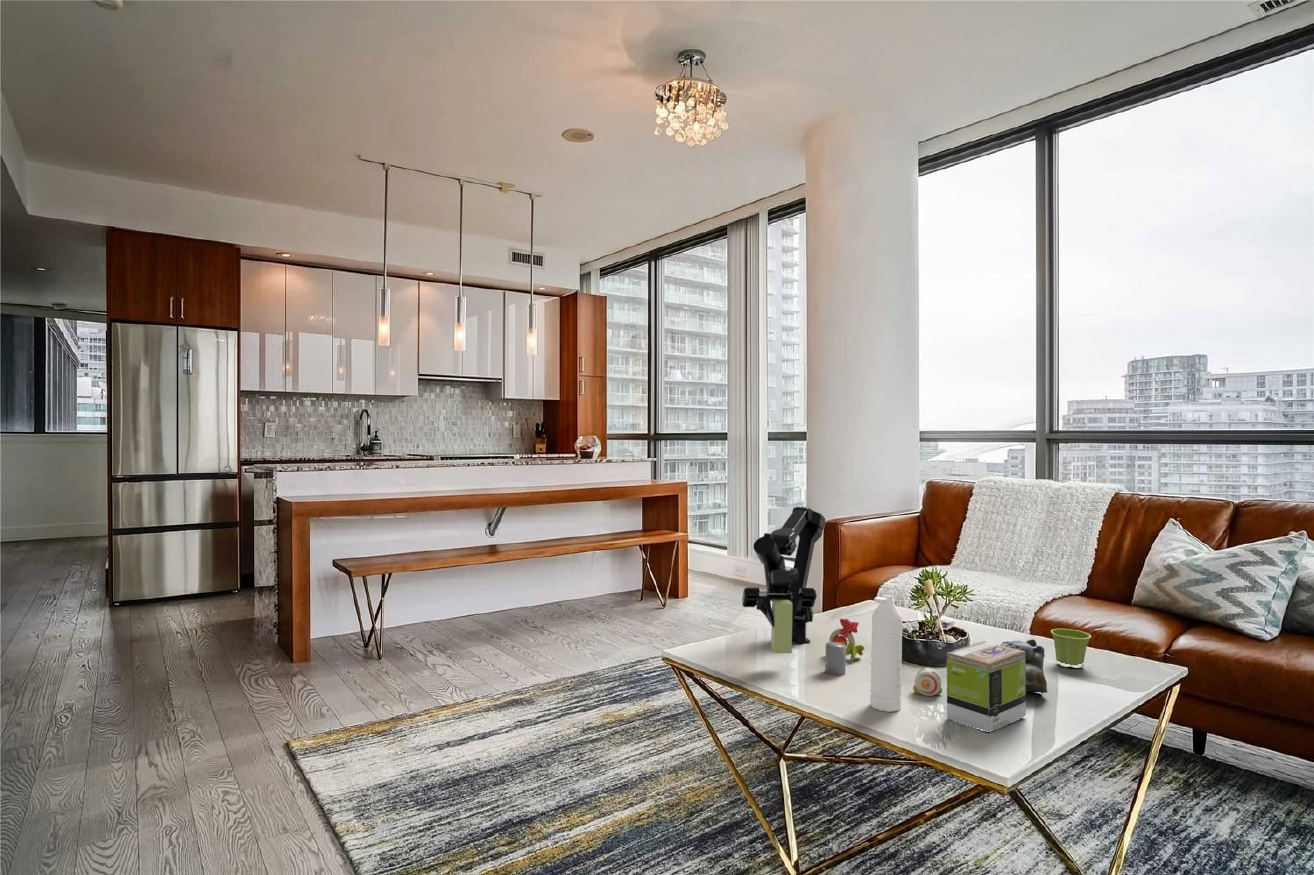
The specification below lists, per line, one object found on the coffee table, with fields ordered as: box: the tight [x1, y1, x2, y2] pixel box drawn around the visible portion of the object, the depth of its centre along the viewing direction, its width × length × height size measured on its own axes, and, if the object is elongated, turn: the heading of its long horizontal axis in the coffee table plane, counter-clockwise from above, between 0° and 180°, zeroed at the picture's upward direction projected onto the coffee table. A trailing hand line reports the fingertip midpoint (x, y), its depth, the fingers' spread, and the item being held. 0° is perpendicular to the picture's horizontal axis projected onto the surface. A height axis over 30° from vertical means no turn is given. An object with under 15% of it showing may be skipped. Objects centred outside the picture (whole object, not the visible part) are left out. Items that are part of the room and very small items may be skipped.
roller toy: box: [912, 667, 943, 697], centre depth 176 cm, size 4×6×6 cm
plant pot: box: [1050, 628, 1092, 665], centre depth 199 cm, size 9×9×9 cm
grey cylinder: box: [824, 642, 847, 677], centre depth 191 cm, size 5×5×7 cm
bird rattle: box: [828, 618, 865, 662], centre depth 203 cm, size 6×11×9 cm
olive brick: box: [770, 600, 793, 654], centre depth 192 cm, size 4×4×12 cm
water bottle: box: [869, 594, 904, 713], centre depth 166 cm, size 9×6×25 cm
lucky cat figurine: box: [999, 638, 1048, 694], centre depth 180 cm, size 15×12×14 cm
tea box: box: [946, 641, 1027, 733], centre depth 161 cm, size 15×10×15 cm, turn 127°
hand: (782, 626), depth 190 cm, fingers closed on olive brick, 4 cm apart
